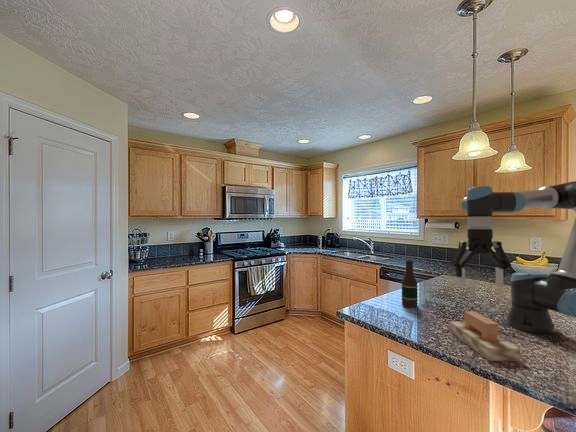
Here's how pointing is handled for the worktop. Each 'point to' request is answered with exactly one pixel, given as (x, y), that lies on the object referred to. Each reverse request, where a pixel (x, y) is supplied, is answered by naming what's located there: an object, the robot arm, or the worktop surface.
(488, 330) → the orange-brown block
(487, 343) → the beige flat slotted piece
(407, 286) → the beer bottle
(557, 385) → the worktop surface
